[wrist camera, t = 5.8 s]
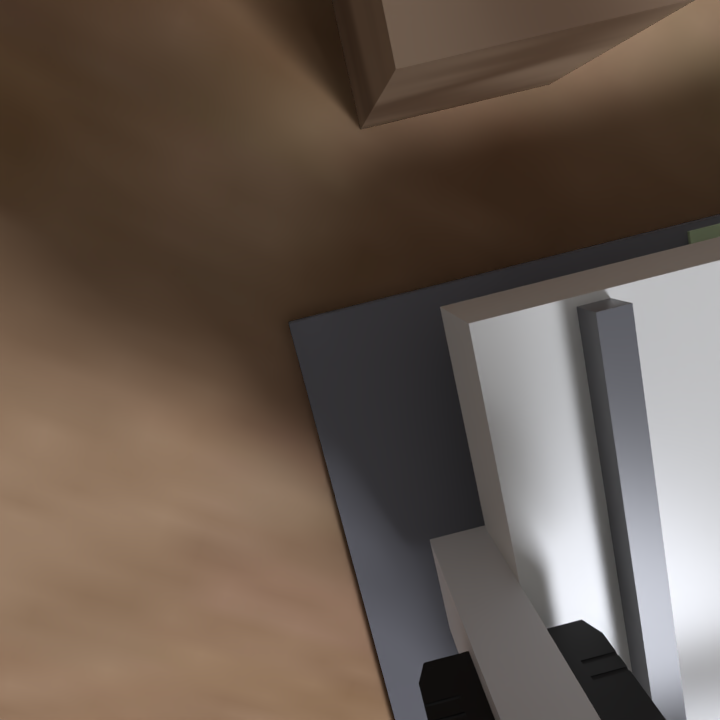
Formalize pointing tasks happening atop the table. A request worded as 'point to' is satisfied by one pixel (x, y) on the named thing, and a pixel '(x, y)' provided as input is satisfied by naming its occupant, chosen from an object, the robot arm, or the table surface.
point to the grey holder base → (415, 442)
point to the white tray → (607, 456)
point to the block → (474, 47)
